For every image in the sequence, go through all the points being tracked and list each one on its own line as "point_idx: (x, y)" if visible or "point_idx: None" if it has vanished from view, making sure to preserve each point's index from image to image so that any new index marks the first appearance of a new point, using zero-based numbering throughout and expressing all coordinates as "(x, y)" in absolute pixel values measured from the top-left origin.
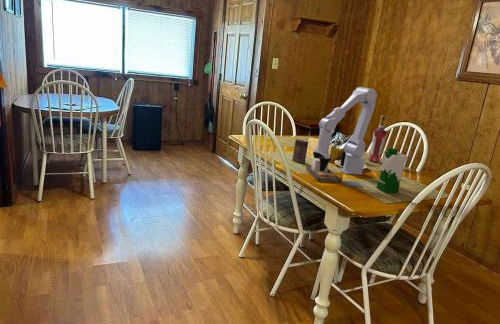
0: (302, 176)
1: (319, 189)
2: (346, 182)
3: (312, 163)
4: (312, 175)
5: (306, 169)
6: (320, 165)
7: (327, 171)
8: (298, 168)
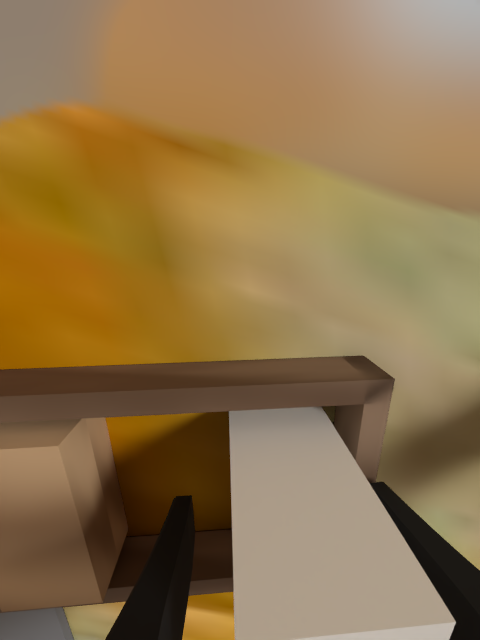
0: (64, 221)
1: None
2: None
3: (355, 482)
4: (128, 367)
5: (352, 359)
6: (142, 588)
7: None
8: (407, 271)
